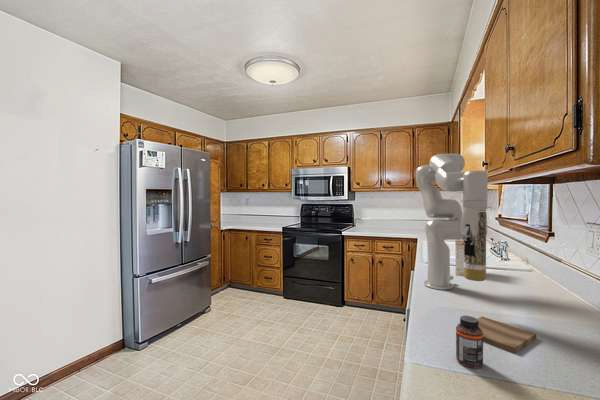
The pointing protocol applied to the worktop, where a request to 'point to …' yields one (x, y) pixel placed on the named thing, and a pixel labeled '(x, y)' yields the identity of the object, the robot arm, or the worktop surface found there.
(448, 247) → the robot arm
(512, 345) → the board
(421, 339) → the worktop surface
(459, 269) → the coffeecake box
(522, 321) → the worktop surface
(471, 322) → the supplement bottle
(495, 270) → the worktop surface
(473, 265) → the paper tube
